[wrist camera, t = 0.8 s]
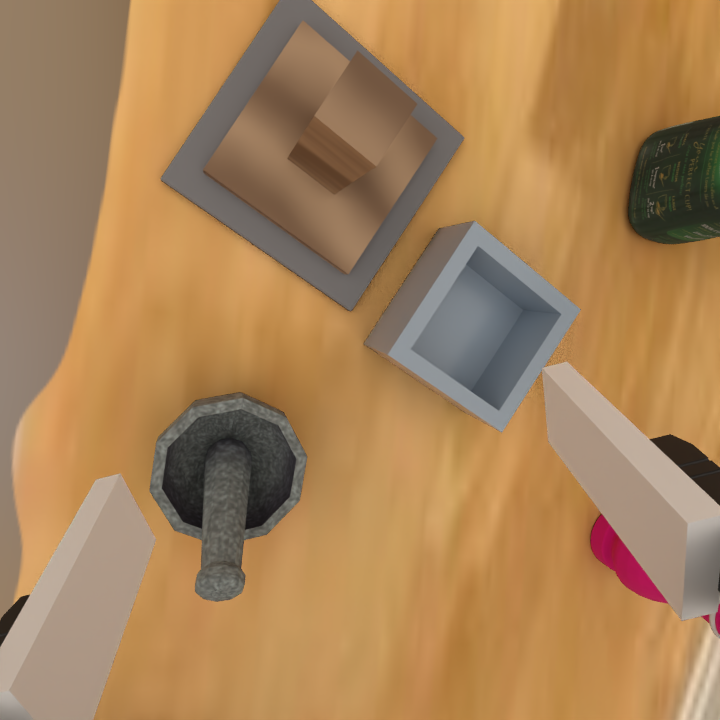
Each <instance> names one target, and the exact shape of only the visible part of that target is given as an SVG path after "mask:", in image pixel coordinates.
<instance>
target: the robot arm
mask: <svg viewBox="0 0 720 720" xmlns="http://www.w3.org/2000/svg"><path fill="white" fill-rule="evenodd" d="M542 374H543V386H544V397H545V409H546V420H547V432H548V442H549V443H550V445H551V446H552V447H553V449H554V450H555V451H556V453H557V454H558V456H559V457H560V458H561V460H562V461H563V462H564V464H565V465H566V466H567V468H568V469H569V470H570V472H571V473H572V474H573V476H574V477H575V478H576V480H577V481H578V482H579V484H580V485H581V486H582V488H583V489H584V490H585V492H586V493H587V494H588V496H589V497H590V498H591V500H592V501H593V502H594V504H595V505H596V507H597V508H598V509H599V511H600V512H601V513H602V515H603V516H604V517H605V519H606V520H607V521H608V523H609V524H610V525H611V527H612V528H613V529H614V531H615V532H616V533H617V535H618V536H619V537H620V539H621V540H622V541H623V543H624V544H625V545H626V547H627V548H628V549H629V551H630V552H631V554H632V555H633V556H634V558H635V559H636V560H637V562H638V563H639V564H640V566H641V567H642V568H643V570H644V571H645V572H646V574H647V575H648V576H649V578H650V579H651V580H652V582H653V583H654V584H655V586H656V587H657V588H658V590H659V591H660V592H661V594H662V595H663V596H664V598H665V599H666V601H667V602H668V603H669V605H670V606H671V607H672V609H673V610H674V611H675V613H676V614H677V615H678V617H679V618H680V619H681V621H683V620H687V619H692V618H696V617H700V616H704V615H708V614H712V613H716V612H718V603H719V594H720V467H718V466H717V465H716V464H715V463H714V462H713V461H709V459H708V457H707V456H706V455H704V454H703V453H702V452H701V451H700V450H698V449H697V448H696V447H695V446H694V445H693V444H691V443H688V442H686V441H684V440H682V439H679V438H677V437H675V436H673V435H666V436H662V437H658V438H654V439H650V440H649V439H648V438H647V437H646V436H645V435H644V434H643V433H642V432H641V431H640V430H639V429H638V428H637V427H636V426H635V425H633V424H632V423H631V422H630V421H629V420H628V419H627V418H626V417H625V416H624V415H623V414H622V413H621V412H620V411H619V410H618V409H617V408H615V407H614V406H613V405H612V404H611V403H610V402H609V401H608V400H607V399H606V398H605V397H604V396H603V395H602V394H601V393H600V392H598V391H597V390H596V389H595V388H594V387H593V386H592V385H591V384H590V383H589V382H588V381H587V380H586V379H585V378H584V377H583V376H581V375H580V374H579V373H578V372H577V371H576V370H575V369H574V368H573V367H572V366H571V365H570V364H569V363H568V362H564V363H560V364H556V365H552V366H548V367H544V368H542ZM155 541H156V538H155V536H154V534H153V533H152V531H151V529H150V527H149V525H148V523H147V522H146V520H145V518H144V516H143V514H142V512H141V511H140V509H139V507H138V505H137V503H136V501H135V499H134V498H133V496H132V494H131V492H130V490H129V488H128V487H127V485H126V483H125V481H124V479H123V477H122V476H121V474H117V475H113V476H109V477H105V478H101V479H97V480H96V481H95V482H94V484H93V486H92V488H91V489H90V491H89V493H88V495H87V496H86V498H85V500H84V502H83V503H82V505H81V507H80V509H79V510H78V512H77V514H76V516H75V517H74V519H73V521H72V523H71V524H70V526H69V528H68V530H67V531H66V533H65V535H64V537H63V538H62V540H61V542H60V544H59V545H58V547H57V549H56V551H55V552H54V554H53V556H52V558H51V559H50V561H49V563H48V565H47V566H46V568H45V570H44V572H43V573H42V575H41V577H40V579H39V580H38V582H37V584H36V586H35V587H34V589H33V591H32V593H31V594H30V595H26V596H22V597H20V598H19V600H18V601H17V602H16V603H15V604H14V605H13V606H12V607H11V608H10V609H9V610H8V611H7V612H6V613H5V614H4V615H3V617H2V618H1V620H0V720H93V719H94V716H95V713H96V710H97V707H98V704H99V702H100V699H101V696H102V693H103V690H104V687H105V684H106V682H107V679H108V676H109V673H110V670H111V667H112V664H113V662H114V659H115V656H116V653H117V650H118V647H119V644H120V642H121V639H122V636H123V633H124V630H125V627H126V624H127V621H128V619H129V616H130V613H131V610H132V607H133V604H134V601H135V599H136V596H137V593H138V590H139V587H140V584H141V581H142V579H143V576H144V573H145V570H146V567H147V564H148V561H149V559H150V556H151V553H152V550H153V547H154V544H155Z"/></svg>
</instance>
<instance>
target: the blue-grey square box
mask: <svg viewBox="0 0 720 720" xmlns="http://www.w3.org/2000/svg"><path fill="white" fill-rule="evenodd" d="M580 310H581V309H579V308H578V307H577V306H576V305H575V304H574V303H572V302H571V301H570V300H569V299H568V298H566V297H565V296H564V295H563V294H562V293H560V292H559V291H558V290H557V289H556V288H554V287H553V286H552V285H551V284H550V283H548V282H547V281H546V280H545V279H544V278H542V277H541V276H540V275H539V274H538V273H536V272H535V271H534V270H533V269H532V268H531V267H529V266H528V265H527V264H526V263H525V262H523V261H522V260H521V259H520V258H519V257H517V256H516V255H515V254H514V253H513V252H511V251H510V250H509V249H508V248H507V247H505V246H504V245H503V244H502V243H501V242H499V241H498V240H497V239H496V238H495V237H494V236H492V235H491V234H490V233H489V232H488V231H486V230H485V229H484V228H483V227H482V226H480V225H479V224H478V223H477V222H476V221H472V222H467V223H462V224H458V225H453V226H448V227H444V228H439V229H438V231H437V232H436V234H435V235H434V237H433V238H432V240H431V241H430V243H429V244H428V246H427V247H426V249H425V250H424V252H423V254H422V255H421V257H420V258H419V260H418V261H417V263H416V264H415V266H414V267H413V269H412V270H411V272H410V273H409V275H408V276H407V278H406V280H405V281H404V283H403V284H402V286H401V287H400V289H399V290H398V292H397V293H396V295H395V296H394V298H393V299H392V301H391V303H390V304H389V306H388V307H387V309H386V310H385V312H384V313H383V315H382V316H381V318H380V319H379V321H378V322H377V324H376V325H375V327H374V329H373V330H372V332H371V333H370V335H369V336H368V338H367V339H366V341H365V342H364V345H366V346H367V347H369V348H370V349H372V350H373V351H375V352H376V353H377V354H379V355H380V356H382V357H383V358H385V359H386V360H388V361H389V362H391V363H392V364H394V365H395V366H397V367H398V368H400V369H401V370H403V371H404V372H406V373H407V374H409V375H410V376H411V377H413V378H414V379H416V380H417V381H419V382H420V383H422V384H423V385H425V386H426V387H428V388H429V389H431V390H432V391H434V392H435V393H437V394H438V395H440V396H441V397H443V398H444V399H445V400H447V401H448V402H450V403H451V404H453V405H454V406H456V407H457V408H459V409H460V410H462V411H463V412H465V413H466V414H468V415H470V416H472V417H474V418H476V419H478V420H480V421H481V422H483V423H485V424H487V425H489V426H491V427H493V428H494V429H496V430H498V431H500V432H502V431H503V430H504V428H505V427H506V425H507V424H508V422H509V421H510V419H511V417H512V416H513V414H514V413H515V411H516V410H517V408H518V407H519V405H520V403H521V402H522V400H523V399H524V397H525V396H526V394H527V393H528V391H529V389H530V388H531V386H532V385H533V383H534V382H535V380H536V379H537V377H538V375H539V374H540V372H541V371H542V368H544V366H545V365H546V363H547V361H548V360H549V358H550V357H551V355H552V354H553V352H554V351H555V349H556V347H557V346H558V344H559V343H560V341H561V340H562V338H563V337H564V335H565V333H566V332H567V330H568V329H569V327H570V326H571V324H572V323H573V321H574V319H575V318H576V316H577V315H578V313H579V312H580Z"/></svg>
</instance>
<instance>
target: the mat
mask: <svg viewBox="0 0 720 720" xmlns="http://www.w3.org/2000/svg"><path fill="white" fill-rule="evenodd" d="M302 21H304V22H306V23H307V24H308V25H309V26H310V27H311V28H312V29H314V30H315V31H316V32H317V33H318V34H319V35H320V36H322V37H323V38H324V39H325V40H326V41H327V42H328V43H330V44H331V45H332V46H333V47H334V48H335V49H336V50H337V51H339V52H340V53H341V54H342V55H343V56H344V57H345V58H347V59H348V60H349V61H351V60H352V58H353V57H354V55H355V54H356V52H357V51H359V52H360V53H361V54H362V55H363V56H365V57H366V58H367V59H368V60H369V61H370V62H371V63H372V64H374V65H375V66H376V67H377V68H378V69H379V70H380V71H381V72H382V73H384V74H385V75H386V76H387V77H388V78H389V79H390V80H391V81H393V82H394V83H395V84H396V85H397V86H398V87H399V88H400V89H402V90H403V91H404V92H405V93H406V94H407V95H408V96H409V97H411V98H412V99H413V100H414V101H415V102H416V103H417V106H416V107H415V109H414V110H413V112H412V113H411V115H412V116H413V117H414V118H415V119H416V120H417V121H418V122H419V123H421V124H422V125H423V126H424V127H425V128H426V129H427V130H429V131H430V132H431V133H432V134H433V135H434V136H435V137H437V138H438V139H437V140H436V142H435V143H434V145H433V146H432V148H431V149H430V151H429V152H428V154H427V155H426V157H425V158H424V160H423V161H422V163H421V164H420V166H419V168H418V169H417V171H416V172H415V174H414V175H413V177H412V178H411V180H410V181H409V183H408V184H407V186H406V187H405V189H404V190H403V192H402V193H401V195H400V196H399V198H398V200H397V201H396V203H395V204H394V206H393V207H392V209H391V210H390V212H389V213H388V215H387V216H386V218H385V219H384V221H383V222H382V224H381V225H380V227H379V228H378V230H377V232H376V233H375V235H374V236H373V238H372V239H371V241H370V242H369V244H368V245H367V247H366V248H365V250H364V251H363V253H362V254H361V256H360V257H359V259H358V260H357V262H356V264H355V265H354V267H353V268H352V270H351V271H350V273H349V274H343V273H342V272H340V271H339V270H338V269H336V268H335V267H333V266H332V265H331V264H329V263H328V262H327V261H325V260H324V259H322V258H321V257H320V256H318V255H317V254H315V253H314V252H313V251H311V250H310V249H308V248H307V247H306V246H304V245H303V244H301V243H300V242H299V241H297V240H296V239H295V238H293V237H292V236H290V235H289V234H288V233H286V232H285V231H283V230H282V229H281V228H279V227H278V226H276V225H275V224H274V223H272V222H271V221H269V220H268V219H267V218H265V217H264V216H262V215H261V214H260V213H258V212H257V211H256V210H254V209H253V208H251V207H250V206H249V205H247V204H246V203H244V202H243V201H242V200H240V199H239V198H237V197H236V196H235V195H233V194H232V193H230V192H229V191H228V190H226V189H225V188H224V187H222V186H221V185H219V184H218V183H217V182H215V181H214V180H212V179H211V178H210V177H208V176H207V175H205V174H204V173H203V169H204V168H205V166H206V165H207V163H208V162H209V160H210V159H211V157H212V156H213V154H214V153H215V151H216V150H217V148H218V147H219V145H220V144H221V142H222V141H223V139H224V138H225V136H226V135H227V133H228V132H229V130H230V129H231V127H232V126H233V124H234V123H235V121H236V120H237V118H238V117H239V115H240V114H241V112H242V111H243V109H244V108H245V106H246V105H247V103H248V102H249V100H250V99H251V97H252V96H253V94H254V93H255V91H256V90H257V88H258V87H259V85H260V84H261V82H262V81H263V79H264V78H265V76H266V75H267V73H268V72H269V70H270V69H271V67H272V66H273V64H274V63H275V61H276V60H277V58H278V57H279V55H280V54H281V52H282V51H283V49H284V48H285V46H286V45H287V43H288V42H289V40H290V39H291V37H292V36H293V34H294V33H295V31H296V30H297V28H298V27H299V25H300V24H301V22H302ZM463 140H464V137H463V136H462V135H461V134H460V133H459V132H458V131H456V130H455V129H454V128H453V127H452V126H451V125H450V124H449V123H448V122H446V121H445V120H444V119H443V118H442V117H441V116H440V115H439V114H438V113H436V112H435V111H434V110H433V109H432V108H431V107H430V106H429V105H428V104H426V103H425V102H424V101H423V100H422V99H421V98H420V97H419V96H417V95H416V94H415V93H414V92H413V91H412V90H411V89H410V88H409V87H407V86H406V85H405V84H404V83H403V82H402V81H401V80H400V79H399V78H397V77H396V76H395V75H394V74H393V73H392V72H391V71H390V70H389V69H387V68H386V67H385V66H384V65H383V64H382V63H381V62H380V61H379V60H377V59H376V58H375V57H374V56H373V55H372V54H371V53H370V52H368V51H367V50H366V49H365V48H364V47H363V46H362V45H361V44H360V43H358V42H357V41H356V40H355V39H354V38H353V37H352V36H351V35H350V34H348V33H347V32H346V31H345V30H344V29H343V28H342V27H341V26H340V25H338V24H337V23H336V22H335V21H334V20H333V19H332V18H331V17H329V16H328V15H327V14H326V13H325V12H324V11H323V10H322V9H321V8H319V7H318V6H317V5H316V4H315V3H314V2H313V1H312V0H280V1H279V2H278V4H277V5H276V7H275V8H274V10H273V11H272V13H271V14H270V16H269V17H268V19H267V20H266V22H265V23H264V25H263V26H262V28H261V29H260V31H259V32H258V34H257V35H256V37H255V38H254V40H253V41H252V43H251V44H250V46H249V47H248V49H247V50H246V52H245V53H244V55H243V56H242V58H241V59H240V61H239V62H238V64H237V65H236V67H235V68H234V70H233V71H232V73H231V74H230V76H229V77H228V79H227V80H226V82H225V83H224V85H223V86H222V88H221V89H220V91H219V92H218V94H217V95H216V97H215V98H214V99H213V101H212V102H211V104H210V105H209V107H208V108H207V110H206V111H205V113H204V114H203V116H202V117H201V119H200V120H199V122H198V123H197V125H196V126H195V128H194V129H193V131H192V132H191V134H190V135H189V137H188V138H187V140H186V141H185V143H184V144H183V146H182V147H181V149H180V150H179V152H178V153H177V155H176V156H175V158H174V159H173V161H172V162H171V164H170V165H169V167H168V168H167V170H166V171H165V173H164V174H163V176H162V177H161V181H162V182H164V183H165V184H167V185H168V186H170V187H171V188H172V189H174V190H175V191H177V192H178V193H180V194H181V195H183V196H184V197H185V198H187V199H188V200H190V201H191V202H193V203H194V204H196V205H197V206H198V207H200V208H201V209H203V210H204V211H206V212H207V213H208V214H210V215H211V216H213V217H214V218H216V219H217V220H219V221H220V222H221V223H223V224H224V225H226V226H227V227H229V228H230V229H232V230H233V231H234V232H236V233H237V234H239V235H240V236H242V237H243V238H245V239H246V240H247V241H249V242H250V243H252V244H253V245H255V246H256V247H257V248H259V249H260V250H262V251H263V252H265V253H266V254H268V255H269V256H270V257H272V258H273V259H275V260H276V261H278V262H279V263H281V264H282V265H283V266H285V267H286V268H288V269H289V270H291V271H292V272H294V273H295V274H296V275H298V276H299V277H301V278H302V279H304V280H305V281H307V282H308V283H309V284H311V285H312V286H314V287H315V288H317V289H318V290H319V291H321V292H322V293H324V294H325V295H327V296H328V297H330V298H331V299H332V300H334V301H335V302H337V303H338V304H340V305H341V306H343V307H344V308H345V309H347V310H348V311H352V309H353V308H354V306H355V305H356V303H357V302H358V300H359V299H360V297H361V295H362V294H363V292H364V291H365V289H366V288H367V286H368V285H369V283H370V282H371V280H372V279H373V277H374V276H375V274H376V273H377V271H378V270H379V268H380V266H381V265H382V263H383V262H384V260H385V259H386V257H387V256H388V254H389V253H390V251H391V250H392V248H393V247H394V245H395V244H396V242H397V241H398V239H399V237H400V236H401V234H402V233H403V231H404V230H405V228H406V227H407V225H408V224H409V222H410V221H411V219H412V218H413V216H414V215H415V213H416V211H417V210H418V208H419V207H420V205H421V204H422V202H423V201H424V199H425V198H426V196H427V195H428V193H429V192H430V190H431V189H432V187H433V186H434V184H435V182H436V181H437V179H438V178H439V176H440V175H441V173H442V172H443V170H444V169H445V167H446V166H447V164H448V163H449V161H450V160H451V158H452V157H453V155H454V153H455V152H456V150H457V149H458V147H459V146H460V144H461V143H462V141H463Z"/></svg>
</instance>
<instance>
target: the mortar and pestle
mask: <svg viewBox="0 0 720 720" xmlns="http://www.w3.org/2000/svg"><path fill="white" fill-rule="evenodd" d="M306 461H307V455H306V453H305V451H304V450H303V448H302V446H301V444H300V442H299V440H298V438H297V436H296V435H295V433H294V431H293V429H292V427H291V425H290V423H289V421H288V419H287V418H286V416H285V414H284V412H282V411H280V410H278V409H276V408H274V407H272V406H270V405H267V404H265V403H263V402H261V401H259V400H256V399H254V398H252V397H250V396H248V395H246V394H243V393H241V392H238V393H233V394H227V395H222V396H216V397H211V398H205V399H200V400H196V401H194V402H193V403H192V404H191V405H190V406H189V407H188V408H187V409H186V410H185V411H184V412H183V413H182V414H181V415H180V416H179V417H178V418H177V419H176V420H175V421H174V422H173V423H172V424H171V425H170V426H169V427H168V428H167V429H166V430H165V431H164V432H163V433H162V434H161V435H160V436H159V437H158V439H157V442H156V448H155V455H154V463H153V470H152V477H151V484H150V493H151V494H152V496H153V497H154V499H155V501H156V502H157V504H158V505H159V507H160V508H161V510H162V512H163V513H164V515H165V516H166V518H167V519H168V521H169V523H170V524H171V526H172V527H173V529H174V530H175V531H178V532H181V533H183V534H186V535H189V536H192V537H195V538H198V539H200V540H202V556H201V570H200V571H199V573H198V574H197V578H196V584H195V592H196V593H197V594H198V595H199V596H201V597H202V598H203V599H206V600H211V601H217V602H218V601H224V600H230V599H232V598H234V597H236V596H237V595H239V594H241V593H242V591H243V588H244V585H245V574H244V572H243V571H242V569H241V564H242V554H243V544H244V540H247V539H251V538H255V537H259V536H263V535H267V534H268V533H269V532H270V531H271V530H272V529H273V528H274V527H275V525H276V524H277V523H278V522H279V521H280V520H281V519H282V518H283V517H284V516H285V515H286V514H287V513H288V512H289V511H290V510H291V509H292V508H293V507H294V506H295V505H296V504H297V503H298V502H299V501H300V495H301V490H302V484H303V478H304V472H305V467H306Z"/></svg>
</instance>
